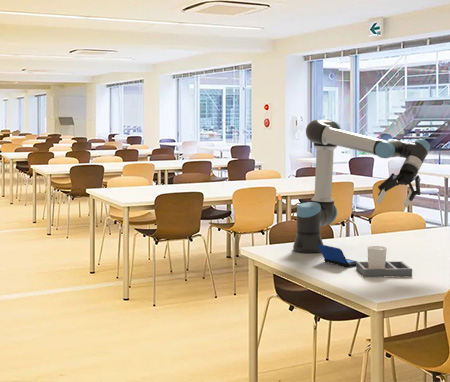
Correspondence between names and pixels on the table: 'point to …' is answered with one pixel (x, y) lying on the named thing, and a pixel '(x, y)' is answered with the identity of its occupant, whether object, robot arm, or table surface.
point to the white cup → (376, 257)
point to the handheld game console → (335, 256)
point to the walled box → (390, 269)
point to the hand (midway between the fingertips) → (391, 203)
